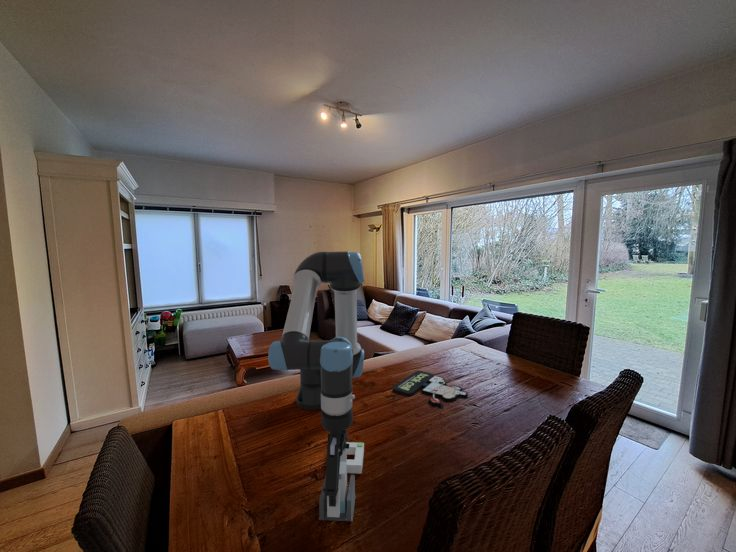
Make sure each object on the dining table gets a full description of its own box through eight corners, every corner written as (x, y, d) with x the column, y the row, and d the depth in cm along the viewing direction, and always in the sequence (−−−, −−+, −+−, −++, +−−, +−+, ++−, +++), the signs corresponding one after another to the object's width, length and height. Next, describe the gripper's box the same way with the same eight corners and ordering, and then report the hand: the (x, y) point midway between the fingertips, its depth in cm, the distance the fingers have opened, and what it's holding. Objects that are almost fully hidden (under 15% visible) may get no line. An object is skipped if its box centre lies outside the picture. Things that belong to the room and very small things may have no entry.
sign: (417, 370, 156) (475, 385, 138) (417, 373, 156) (475, 389, 138) (389, 388, 135) (453, 409, 116) (389, 392, 135) (453, 413, 117)
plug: (328, 512, 71) (327, 473, 70) (331, 498, 75) (331, 461, 74) (345, 513, 71) (344, 473, 70) (347, 499, 75) (346, 461, 74)
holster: (318, 521, 69) (318, 499, 69) (325, 494, 77) (324, 473, 77) (352, 523, 69) (352, 500, 68) (355, 495, 77) (355, 475, 76)
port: (326, 474, 84) (326, 463, 84) (332, 450, 94) (332, 440, 94) (361, 475, 84) (361, 464, 83) (364, 451, 94) (363, 441, 93)
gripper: (346, 440, 59) (346, 541, 60) (357, 386, 83) (357, 459, 85) (308, 439, 59) (310, 539, 61) (330, 385, 83) (331, 458, 85)
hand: (337, 493), depth 73 cm, fingers open, 12 cm apart
